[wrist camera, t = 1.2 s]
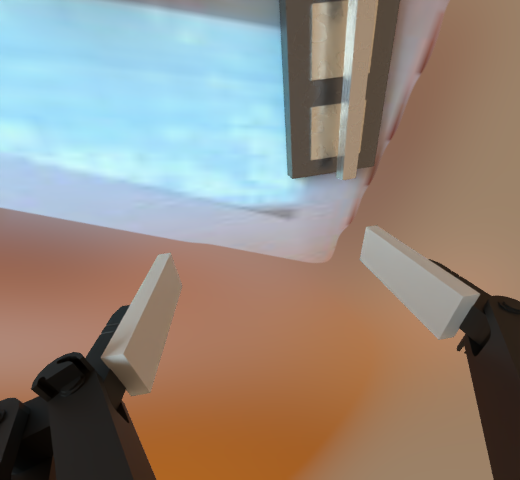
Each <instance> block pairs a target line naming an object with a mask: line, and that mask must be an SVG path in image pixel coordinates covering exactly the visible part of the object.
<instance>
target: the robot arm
mask: <svg viewBox="0 0 520 480" xmlns="http://www.w3.org/2000/svg"><path fill="white" fill-rule="evenodd" d="M360 260H361V262H362V263H363V264H365V266H366V267H367V268H369V270H370V271H371V272H372V273H373V274H374V275H375V276H376V277H377V278H378V279H379V280H380V281H382V283H383V284H384V285H385V286H386V287H387V288H388V289H389V290H390V291H391V292H392V293H393V294H394V295H395V296H396V297H397V298H398V299H399V300H400V301H401V302H402V303H403V304H404V305H405V306H406V307H407V308H408V309H409V310H410V311H411V312H412V313H413V314H414V315H415V316H416V317H417V318H418V319H419V320H420V321H421V322H422V323H423V324H424V325H425V326H426V327H427V328H428V329H429V330H430V331H431V332H432V333H433V334H434V335H435V336H436V337H437V338H438V339H439V340H440V339H446V338H451V337H454V336H455V334H456V333H457V331H458V329H459V328H460V329H461V330H462V331H463V332H464V333H466V334H465V336H464V337H463V339H462V340H461V342H460V343H459V345H458V346H457V351H460V350H461V349H462V347H464V346H465V350H466V351H465V352H464V353H466V354H467V359H468V364H469V368H470V373H471V377H472V382H473V387H474V391H475V396H476V400H477V405H478V410H479V414H480V419H481V423H482V427H483V433H484V437H485V442H486V446H487V450H488V455H489V460H490V465H491V469H492V474H493V478H494V480H520V302H519V301H517V300H515V299H512V298H508V297H504V296H491V295H489V294H487V293H486V292H484V291H483V290H481V289H480V288H478V287H477V286H475V285H473V284H472V283H470V282H469V281H467V280H466V279H464V278H462V277H459V275H458V274H456V273H455V272H453V271H451V270H450V269H448V268H447V267H445V266H443V265H442V264H440V263H438V262H435V261H433V260H430V259H427V258H425V257H424V256H422V255H421V254H419V253H418V252H416V251H415V250H413V249H412V248H410V247H409V246H407V245H406V244H404V243H402V242H401V241H400V240H398V239H397V238H395V237H393V236H392V235H391V234H389V233H387V232H386V231H384V230H383V229H382V228H380V227H378V226H377V225H376V226H369V227H366V231H365V236H364V241H363V246H362V251H361V256H360ZM181 289H182V283H181V281H180V278H179V275H178V272H177V269H176V267H175V264H174V261H173V258H172V255H171V253H167V254H160V255H158V256H157V258H156V260H155V262H154V263H153V265H152V267H151V269H150V271H149V272H148V274H147V276H146V278H145V280H144V281H143V283H142V285H141V287H140V288H139V290H138V292H137V294H136V296H135V298H134V299H133V301H132V303H131V304H130V305H127V306H122V307H120V308H119V310H117V311H116V312H115V313H114V314H113V315H112V317H111V318H110V320H109V321H108V323H107V325H106V327H105V328H104V329H103V331H102V334H101V335H100V336H99V338H98V339H97V340H96V342H95V344H94V346H93V347H92V348H91V350H90V352H89V353H88V355H87V356H86V358H84V357H83V355H82V354H81V353H77V352H73V353H69V354H65V355H63V356H61V357H59V358H57V359H56V360H54V361H53V362H52V363H50V364H49V365H47V366H46V367H45V368H44V369H43V370H42V371H41V372H40V373H39V374H38V376H37V377H36V379H35V380H34V382H33V384H32V388H31V389H32V390H33V391H34V392H35V393H36V394H38V395H39V397H36V398H34V399H32V400H29V401H27V402H25V403H22V402H21V401H19V400H18V399H16V398H7V399H5V400H2V401H0V480H156V478H155V475H154V473H153V471H152V469H151V466H150V463H149V461H148V459H147V456H146V454H145V452H144V449H143V447H142V445H141V442H140V440H139V437H138V435H137V433H136V430H135V428H134V426H133V423H132V421H131V418H130V416H129V414H128V411H127V409H126V407H125V404H124V403H123V401H122V397H123V395H124V393H125V390H127V391H128V393H129V394H130V395H131V396H136V395H141V394H147V393H150V392H151V389H152V385H153V382H154V379H155V375H156V372H157V368H158V365H159V362H160V358H161V355H162V352H163V349H164V345H165V342H166V339H167V335H168V332H169V329H170V325H171V322H172V318H173V315H174V311H175V309H176V305H177V302H178V298H179V295H180V292H181Z"/></svg>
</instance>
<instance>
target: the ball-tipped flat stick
mask: <svg viewBox="0 0 520 480" xmlns="http://www.w3.org/2000/svg"><path fill="white" fill-rule="evenodd" d="M376 2H377V0H348V13H347V28H346V42H345V56H344V71H343V85H342V100H341V114H340V129H339V143H338V157H337V172H336V177H337V178H339V179H341V180H347V179H353V178H356V172H357V164H358V155H359V147H360V138H361V130H362V121H363V113H364V104H365V96H366V87H367V78H368V70H369V61H370V53H371V44H372V36H373V27H374V19H375V10H376Z"/></svg>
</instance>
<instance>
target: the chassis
mask: <svg viewBox="0 0 520 480" xmlns="http://www.w3.org/2000/svg"><path fill="white" fill-rule="evenodd" d="M399 2H400V0H377V2H376V10H375V19H374V27H373V36H372V44H371V53H370V61H369V70H368V78H367V87H366V96H365V104H364V113H363V121H362V130H361V138H360V147H359V155H358V164H357V169H358V168H365V167H371V166H374V162H375V155H376V149H377V143H378V136H379V130H380V124H381V117H382V111H383V104H384V98H385V92H386V85H387V79H388V73H389V66H390V60H391V53H392V47H393V41H394V34H395V28H396V22H397V15H398V9H399ZM279 3H280V24H281V45H282V65H283V86H284V107H285V127H286V148H287V169H288V176H290V177H291V178H292V179H294V178H300V177H307V176H313V175H320V174H326V173H333V172H337V157H338V143H339V129H340V114H341V100H342V85H343V71H344V56H345V42H346V28H347V13H348V0H279Z"/></svg>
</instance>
